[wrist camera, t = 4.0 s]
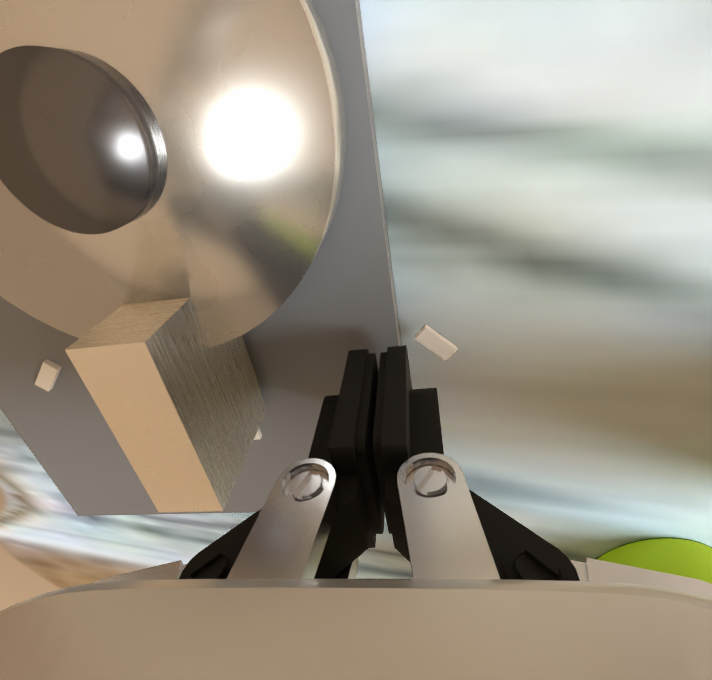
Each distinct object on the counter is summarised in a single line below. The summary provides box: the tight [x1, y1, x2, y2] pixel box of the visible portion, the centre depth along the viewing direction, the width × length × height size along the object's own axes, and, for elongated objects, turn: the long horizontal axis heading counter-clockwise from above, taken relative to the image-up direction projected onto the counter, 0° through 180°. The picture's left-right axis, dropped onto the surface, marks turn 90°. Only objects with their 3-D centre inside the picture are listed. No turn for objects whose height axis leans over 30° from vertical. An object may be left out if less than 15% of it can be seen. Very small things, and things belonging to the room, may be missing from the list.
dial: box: [0, 0, 347, 512], centre depth 9 cm, size 14×10×4 cm
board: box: [0, 0, 457, 516], centre depth 13 cm, size 22×17×1 cm
